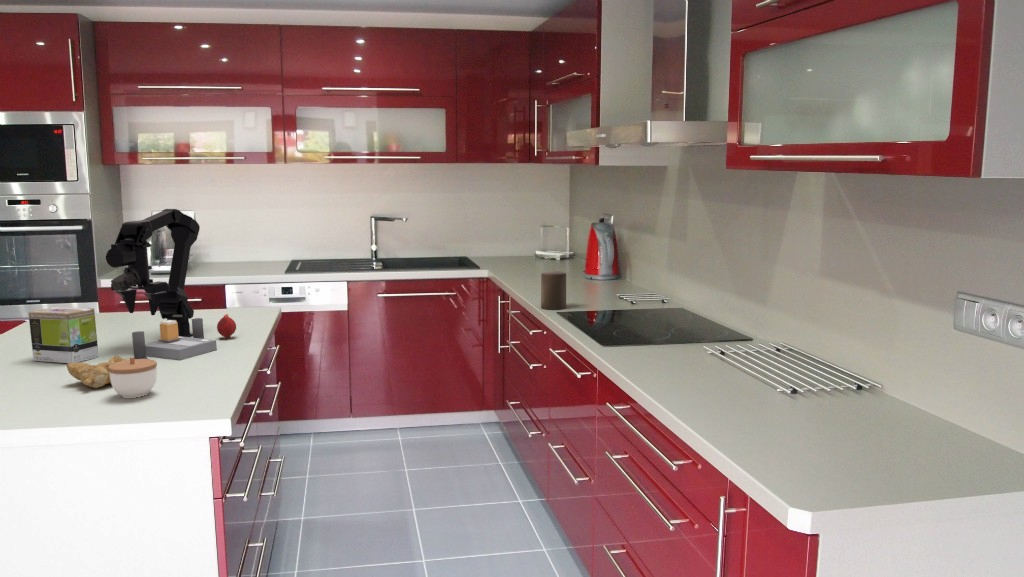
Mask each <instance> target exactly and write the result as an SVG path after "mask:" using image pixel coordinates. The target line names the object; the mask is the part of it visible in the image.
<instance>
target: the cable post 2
mask: <svg viewBox="0 0 1024 577" xmlns="http://www.w3.org/2000/svg"><path fill="white" fill-rule="evenodd" d="M203 322H204V318H202V317H201V318H200V317H196V318H191V329H192V330H191V331H192V334H193V335H192V338H200V339H205V337H204V336H205V335H204V323H203Z"/></svg>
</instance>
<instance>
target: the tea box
mask: <svg viewBox="0 0 1024 577" xmlns="http://www.w3.org/2000/svg"><path fill="white" fill-rule="evenodd" d="M28 320H29V329H30V331H29V332H30V340H31V348H32V358H33V361H35V362H45V363H61V364H69V363H75V362H85V361H88V360H92V359H96V358H99V347H98V334H97V324H96V313H95V309H94V307H93V308H92V307H91V308H90V307H65V306H53V307H49V308H48V307H47V308H43V309H37V310H34V311H29V312H28Z"/></svg>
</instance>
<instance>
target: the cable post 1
mask: <svg viewBox="0 0 1024 577" xmlns="http://www.w3.org/2000/svg"><path fill="white" fill-rule="evenodd" d="M131 338H132V347H133V348H132V349H133V357H134V359H148V356H146V348H145V344H146V338H145V331H142V330H141V331H140V330H139V331H133V332H131Z"/></svg>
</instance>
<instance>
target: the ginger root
mask: <svg viewBox="0 0 1024 577" xmlns="http://www.w3.org/2000/svg"><path fill="white" fill-rule="evenodd" d="M126 360H129V359H127V358H125V357H124V358H123V357H120V356H118V355H114V356H113V357H110V359H109V360H108V362H106V361H104V362H103V361H102V362H99V363H97V364H96V365H95V364H94V365H93V364H89V363H86V362H84V361H82V362H75V363H66V369H67V371H68V374H70V376H72V377H73V378H74V379H76V380H78V381H81V382H82V384H83V385H85V386H88V387H91V388H93V389H99V388H101V387H104V386H106V385H105V384H107V385H112V384H111V381H110V376H109V371H108V367H109V365H111V364H113V363H116V362H120V361H126Z"/></svg>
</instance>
